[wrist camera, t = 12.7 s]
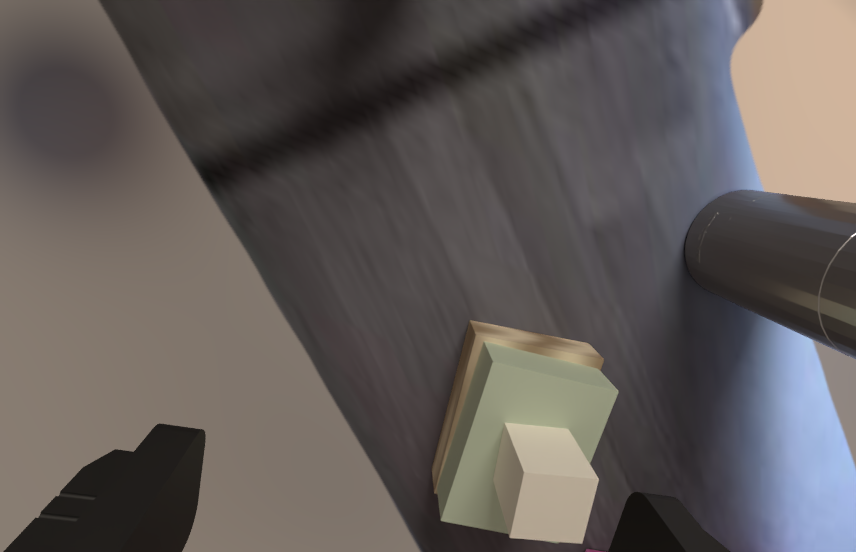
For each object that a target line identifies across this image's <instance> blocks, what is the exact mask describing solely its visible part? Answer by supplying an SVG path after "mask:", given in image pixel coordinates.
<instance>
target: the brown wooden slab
mask: <svg viewBox="0 0 856 552" xmlns="http://www.w3.org/2000/svg"><path fill="white" fill-rule="evenodd" d="M484 341H485V342H489V343H494V344H498V345H502V346H506V347H510V348H514V349H518V350H523V351H527V352H531V353H535V354H539V355H543V356H547V357H552V358H556V359H560V360H564V361H568V362H572V363H576V364H581V365H585V366H589V367H593V368H597V369H599V370H600V371H601V368H602V365H603V362H604V359H603V358H602V357H601V356H600V355H599V354H598V353H597V352H596V351H595V350H594V348H593V347H592V346H591V345H590V344H589V343H584V342H579V341H574V340H569V339H563V338H558V337H553V336H548V335H543V334H538V333H533V332H528V331H523V330H517V329H512V328H507V327H502V326H497V325H492V324H487V323H482V322H477V321H471V320H470V322H469V325H468V329H467V333H466V337H465V341H464V345H463V349H462V353H461V357H460V360H459V364H458V368H457V372H456V376H455V380H454V384H453V388H452V392H451V395H450V399H449V403H448V407H447V411H446V415H445V419H444V423H443V427H442V430H441V434H440V438H439V442H438V446H437V450H436V454H435V458H434V462H433V465H432V476H433V485H434V493H435V494H438V493H437V486H438V482H439V479H440V476H441V473H442V470H443V467H444V464H445V461H446V458H447V454H448V451H449V448H450V445H451V442H452V439H453V436H454V433H455V429H456V426H457V423H458V420H459V417H460V414H461V411H462V408H463V405H464V401H465V398H466V395H467V392H468V389H469V386H470V383H471V380H472V377H473V373H474V370H475V367H476V364H477V361H478V358H479V355H480V352H481V348H482V345H483V342H484Z"/></svg>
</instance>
